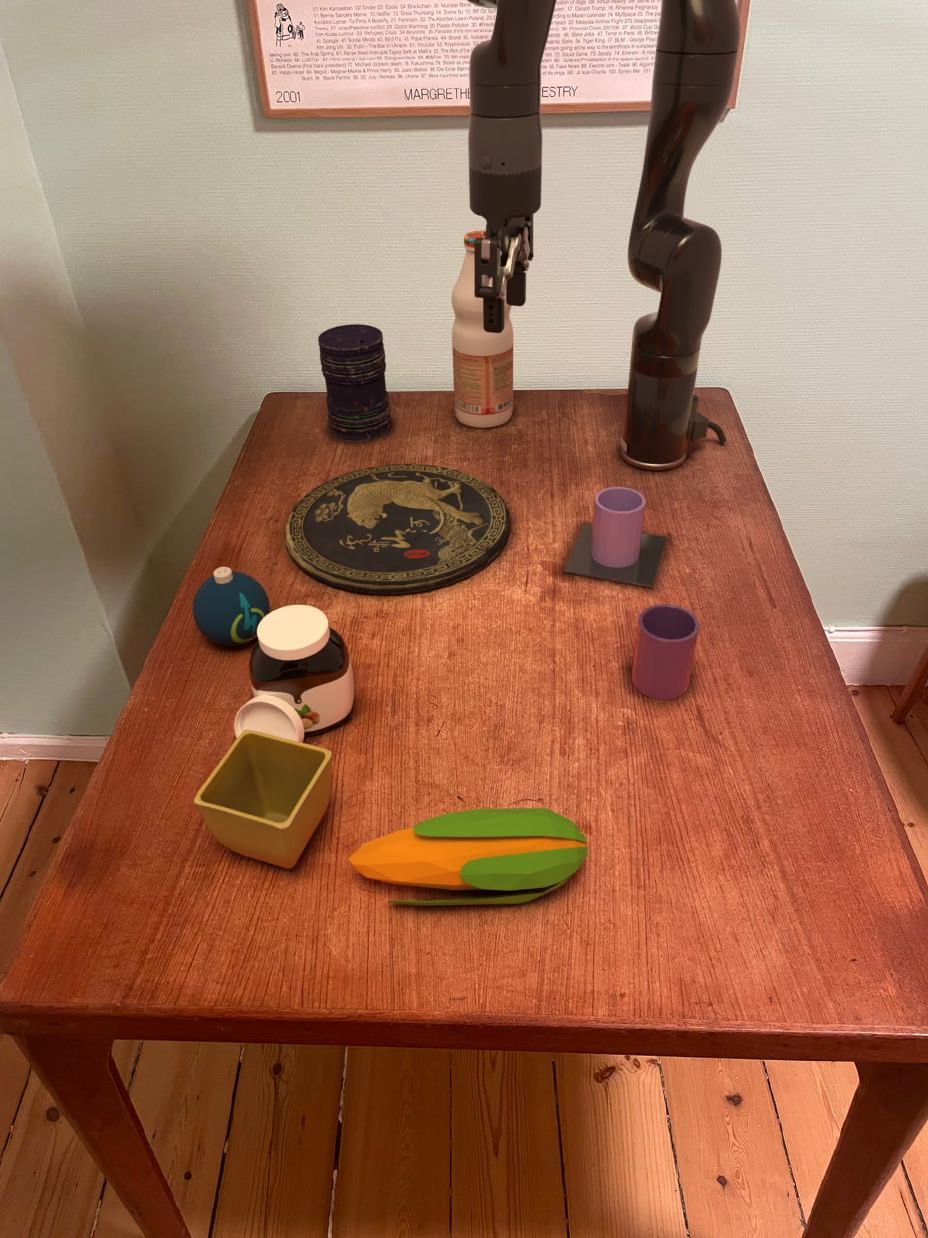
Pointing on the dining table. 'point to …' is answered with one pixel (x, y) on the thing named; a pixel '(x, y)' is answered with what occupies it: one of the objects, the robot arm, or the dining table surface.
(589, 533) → the coaster
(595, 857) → the dining table surface
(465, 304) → the fruit juice
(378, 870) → the corn
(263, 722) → the spread jar
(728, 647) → the dining table surface
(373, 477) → the decorative plate
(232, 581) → the christmas ornament
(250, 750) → the flower pot
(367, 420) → the dark purple cylinder
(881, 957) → the dining table surface
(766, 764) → the dining table surface
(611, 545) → the lilac cup
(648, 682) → the plum cup
